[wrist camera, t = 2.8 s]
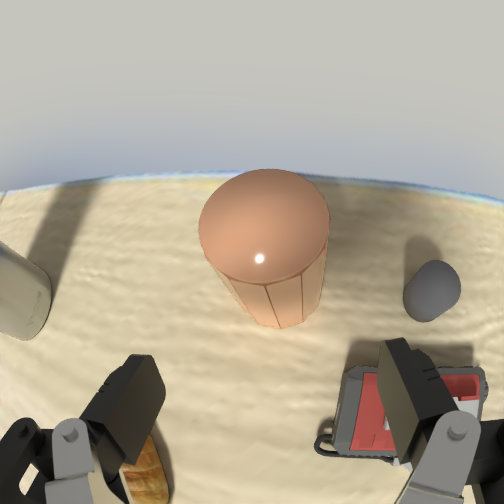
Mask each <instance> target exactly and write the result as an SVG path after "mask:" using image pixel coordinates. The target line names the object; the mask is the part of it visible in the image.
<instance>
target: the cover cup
mask: <svg viewBox="0 0 504 504" xmlns="http://www.w3.org/2000/svg"><path fill="white" fill-rule="evenodd" d="M329 228H330V216H329V211H328V207H327V204H326V202H325V199H324V198H323V196H322V194H321V193H320V192H319V190H318V189H317V188H316V187H315V186H314V185H313V184H312V183H311V182H309V181H308V180H306V179H305V178H303V177H301V176H299V175H297V174H295V173H292V172H289V171H285V170H279V169H260V170H253V171H250V172H246V173H243V174H240V175H238V176H236V177H234V178H232V179H230V180H229V181H227V182H225V183H224V184H223V185H222V186H220V187H219V188H218V189H217V190H216V191H215V192H214V193H213V194H212V195H211V197H210V198H209V199H208V201H207V202H206V204H205V206H204V208H203V210H202V213H201V216H200V220H199V239H200V243H201V246H202V248H203V250H204V254H205V258H206V259H207V261H208V262H209V263H210V265H211V266H212V268H213V269H214V271H215V272H216V273H217V275H218V276H219V278H220V279H221V280H222V282H223V283H224V285H225V286H226V287H227V289H228V290H229V292H230V293H231V294H232V296H233V297H234V298H235V300H236V301H237V303H238V304H239V305H240V307H241V308H242V309H243V311H245V312H246V313H247V314H248V315H249V316H250V317H251V318H252V319H253V320H254V321H255V322H256V323H257V324H259V325H263V326H267V327H272V328H277V329H284V328H287V327H290V326H293V325H296V324H299V323H302V322H304V321H305V320H306V318H307V317H308V316H309V315H310V314H311V313H312V312H313V311H314V310H315V309H316V307H317V306H318V304H319V299H320V294H321V289H322V283H323V276H324V269H325V261H326V254H327V245H328V237H329Z"/></svg>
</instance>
